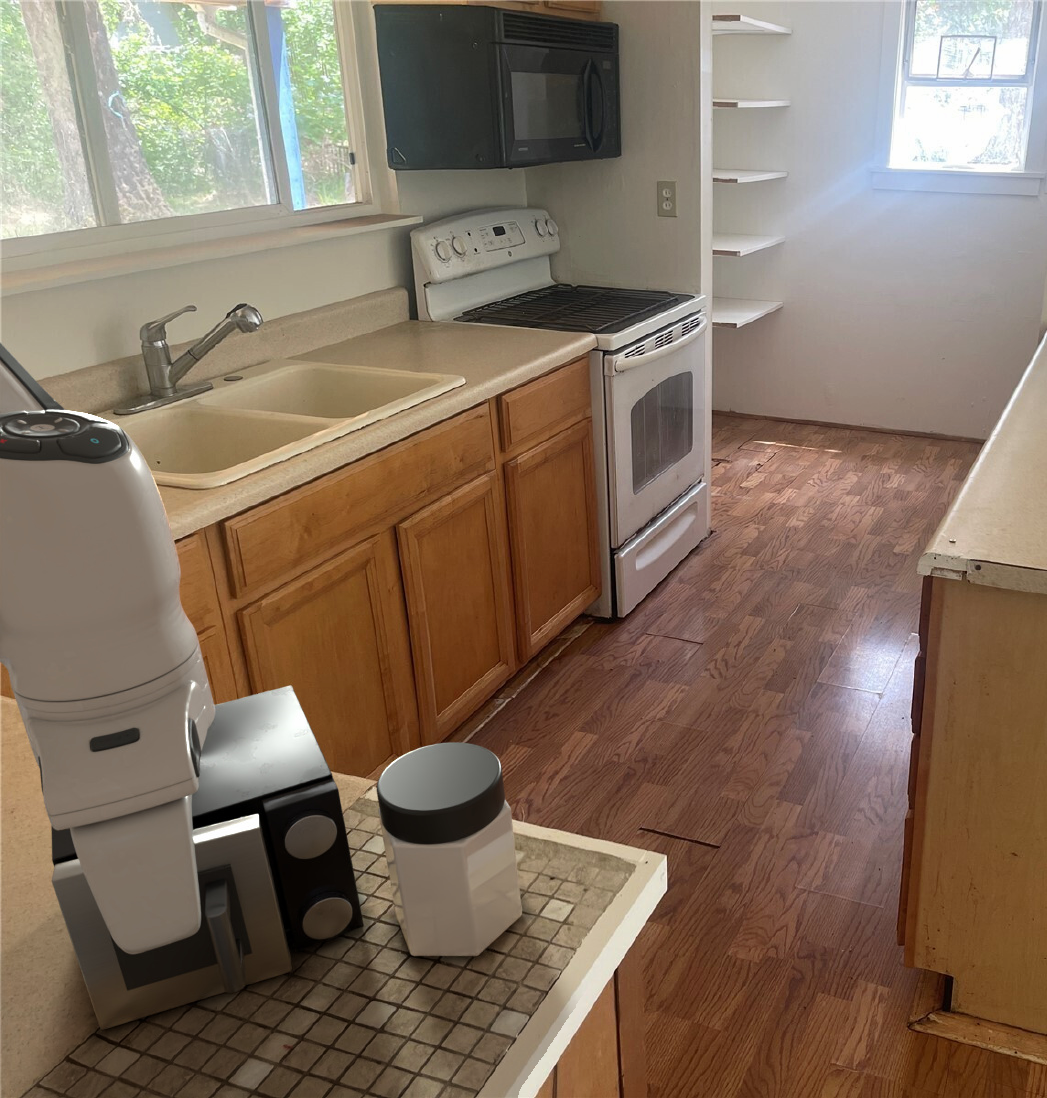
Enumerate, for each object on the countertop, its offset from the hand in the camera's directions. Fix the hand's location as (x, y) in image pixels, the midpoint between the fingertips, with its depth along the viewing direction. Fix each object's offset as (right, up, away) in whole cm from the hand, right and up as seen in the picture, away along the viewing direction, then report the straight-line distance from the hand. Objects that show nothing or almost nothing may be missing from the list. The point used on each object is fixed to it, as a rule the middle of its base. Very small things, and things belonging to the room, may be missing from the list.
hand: (178, 905), depth 62 cm
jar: (+14, -5, +11) cm, 19 cm away
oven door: (-1, -8, +4) cm, 9 cm away
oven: (-3, -4, +12) cm, 13 cm away
